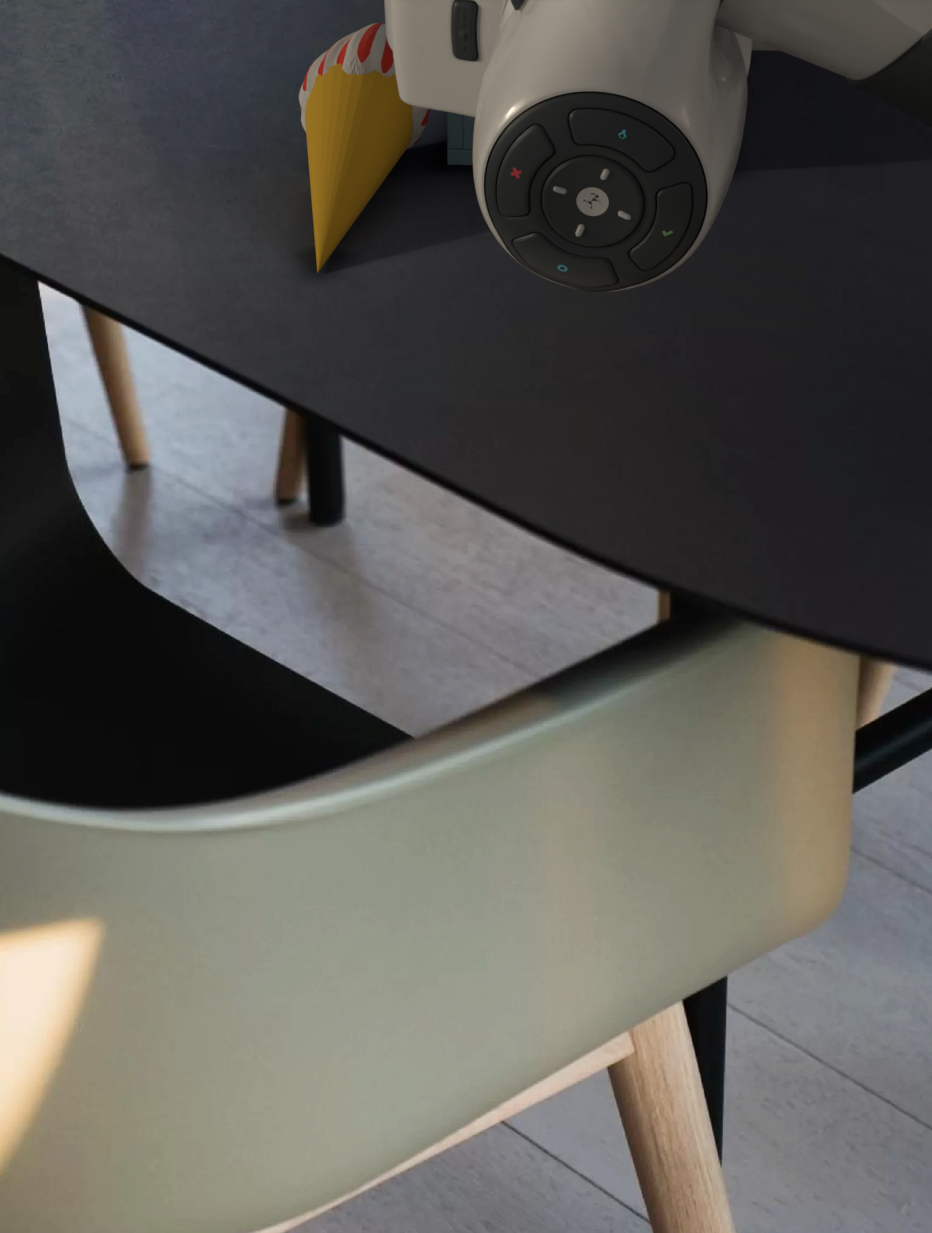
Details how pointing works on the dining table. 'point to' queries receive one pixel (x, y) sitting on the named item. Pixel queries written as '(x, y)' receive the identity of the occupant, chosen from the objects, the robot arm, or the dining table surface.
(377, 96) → the ice cream cone
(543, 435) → the dining table surface
